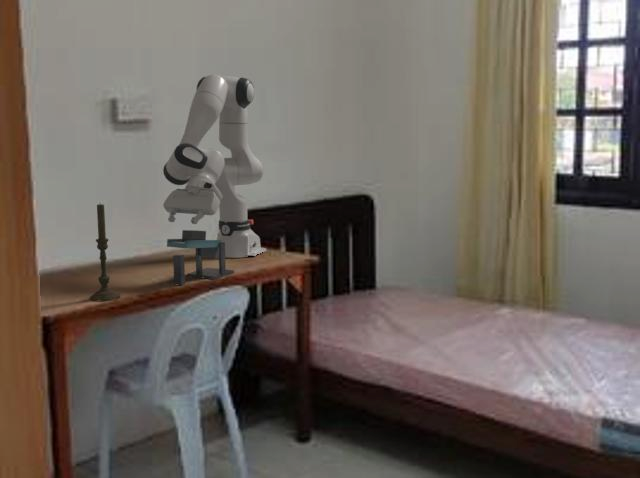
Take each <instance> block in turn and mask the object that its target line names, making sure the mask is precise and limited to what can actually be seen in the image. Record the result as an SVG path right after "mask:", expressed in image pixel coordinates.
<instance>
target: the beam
mask: <svg viewBox="0 0 640 478" xmlns="http://www.w3.org/2000/svg"><path fill="white" fill-rule="evenodd" d="M166 241H167V242H166V247H167V248H177V249H178V248H179V249H180V248H181V249H195V248H201V257H202V258H207V259H209V258H210V259H219V243H220V242H221V240H217V239H206V240H193V241H185V242H182V238H167V240H166Z"/></svg>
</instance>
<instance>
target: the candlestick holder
mask: <svg viewBox="0 0 640 478" xmlns="http://www.w3.org/2000/svg"><path fill="white" fill-rule="evenodd" d="M96 212H97V215H96V216H97V233H98V234H97V237H98V238H96V239H95V242H96V243H97V244H96V247H97V250H99V251H100V253H99V260H100V269H101V272H100V273H101V274H100V276H99V277H98V283H99V284H100V286H101V287H100V288H99V290H97V291H95V292H94V293H93V294H91V295H90V296H89V300H91V301H93V300H101V301H100V302H103V301H102V300H111V299H115V298H118V297H119V296H120V297H121V295H120V293H117V292H116V291H115V290H113V289H110V288H109V285H108V284H109V283H110V279H111V277H110V276H109V275H108V274H107V264H106V263H107V262H106V261H107V252H106V250H107V249H108V247H109V245H108V242H109V238H107V236H106V233H107V232H106V217H105V216H106V214H105V204H102V203H101V202H99V204H96ZM118 299H119V298H118ZM111 301H112V300H111Z"/></svg>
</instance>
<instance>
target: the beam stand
mask: <svg viewBox="0 0 640 478" xmlns="http://www.w3.org/2000/svg"><path fill="white" fill-rule="evenodd" d="M194 249H195V270H194V271H191V272H188V273H186V269H185V254H174V255H172V260H173V261H172V265H173V285H174V284H178V285H177V286H181V285H182V286H184V285H183V284H185V285H186V278H185V277H188V276H192V277H191V278H197V277H204V278H203V279H206V278H210V279H209V280H217V279H220V278H223V277H227V276H230V275H233V274H235V270H234V269H233V270H232V269H227V268H226V257H225V242H220V243H219V258H218V266H219V267H218V268H214V267H205V268H203V257H201V248H194ZM185 273H186V274H187V275H185Z"/></svg>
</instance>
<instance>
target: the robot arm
mask: <svg viewBox="0 0 640 478" xmlns="http://www.w3.org/2000/svg"><path fill="white" fill-rule="evenodd" d="M254 97H255V87H254V84H253V82H252V81H251V80H250V79H249V78H247V77H246V78H245V77H239V76H232V75H230V76H229V75H224V76H222V75H218V74H215V73H214V74H209V75H206V76H203V77H201V78H200V79H199V80H198V82H197V84H196V91H195V93H194V96H193V98H192V101H191V105H190V108H189V111H188V112H189V113H188V117H187V122H186V126H185V129H184V133H183V136H182V138H181V140H180V143H179V144H178V145H177V146H176V147H175V149H174V151H173V152H172V154H171V156H170V157H169V159H168V161H167V162H165V163H164V165H163V168H162V170H163V175H164V177H165V179H166V180H167V181H168V182H170V183H171V184H172V185H175V186H183V185H185V187H184V188H176V189H175V190H172V191H171V192H170V194H169V195H168V196H167V198H166V199H165V201H164V202H163V204H162V205H163V209H164V210H165V211H166V212H167V213H169V214H168V215H169V216H168V219H167V220H168V222H169V223H175V221H176V217H175V215H176V214H187V215H188V214H189V215H195V216H192V217H191V219H190V222H191V224H192V225H197V224H198V222H200V220H202V219H203V218H204V217H205V216H214V215H215V214H217V211H218V209H219V220H218V230H219V231H218V233H217V238H216V240H221V242H225V259H226V258H228V259H229V258H231V259H232V258H234V259H236V258H237V259H240V258H249V257H248V256H255V257H257V256H258V255H257V254H259V255H260V253H261V254H262V252H263V253H265V252H267V248H266V247H261V238H260V236H259V235H258V234H256V233H255V232H254V230H252V229H251V226H252V225H254V219H248V201H247V200H246V198H245V197H243V196H242V195H240V194H239V193H237V192H236V190H235V186H245V185H252V184H255V183H258V182H260V181H261V180H262V177H263V175H264V166H263V164H262V162H261V160H259V159H258V158H257V157H256V156H255V155H254V153H253V152H252V150H251V147H250V144H249V131H248V126H249V125H248V124H249V120H248V119H249V117H248V116H249V114H248V106H249V105H250V104H251V103H252V102H253V100H254ZM218 118H219V120H218ZM217 120H218V121H219V125H218V126H219V127H218V129H219V130H218V139H219V142H220V143H219V144H221V145H222V146H223V147H224V148H225V149H227V150H229V151H230V152H231V157H224V156H223V154H222V153H221V152H220V151H219V150H217V149H215V148H213V147H212V148H202V147H199V145H200V143H201V141H202V139H203V138H204V137H205V136H206V134H207V133H208V131H209V130H211V128H212V127H213V125H214V124H215V123H216V122H217ZM256 255H257V256H256Z"/></svg>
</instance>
